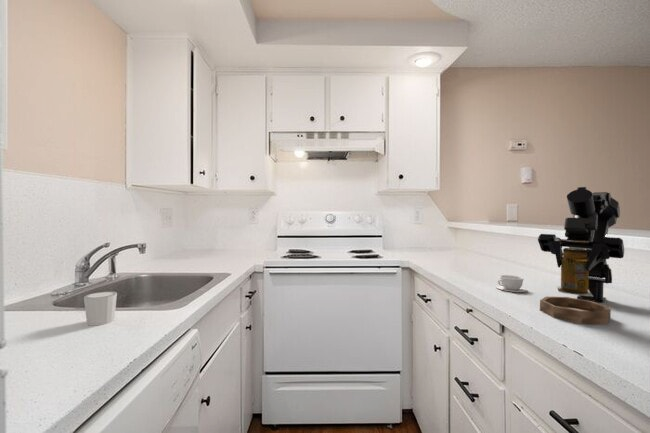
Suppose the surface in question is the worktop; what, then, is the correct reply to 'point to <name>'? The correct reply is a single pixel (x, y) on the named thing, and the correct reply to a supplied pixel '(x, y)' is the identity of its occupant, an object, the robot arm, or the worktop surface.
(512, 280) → the teacup
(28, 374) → the worktop surface
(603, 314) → the ring seat
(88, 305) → the shot glass
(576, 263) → the condiment
